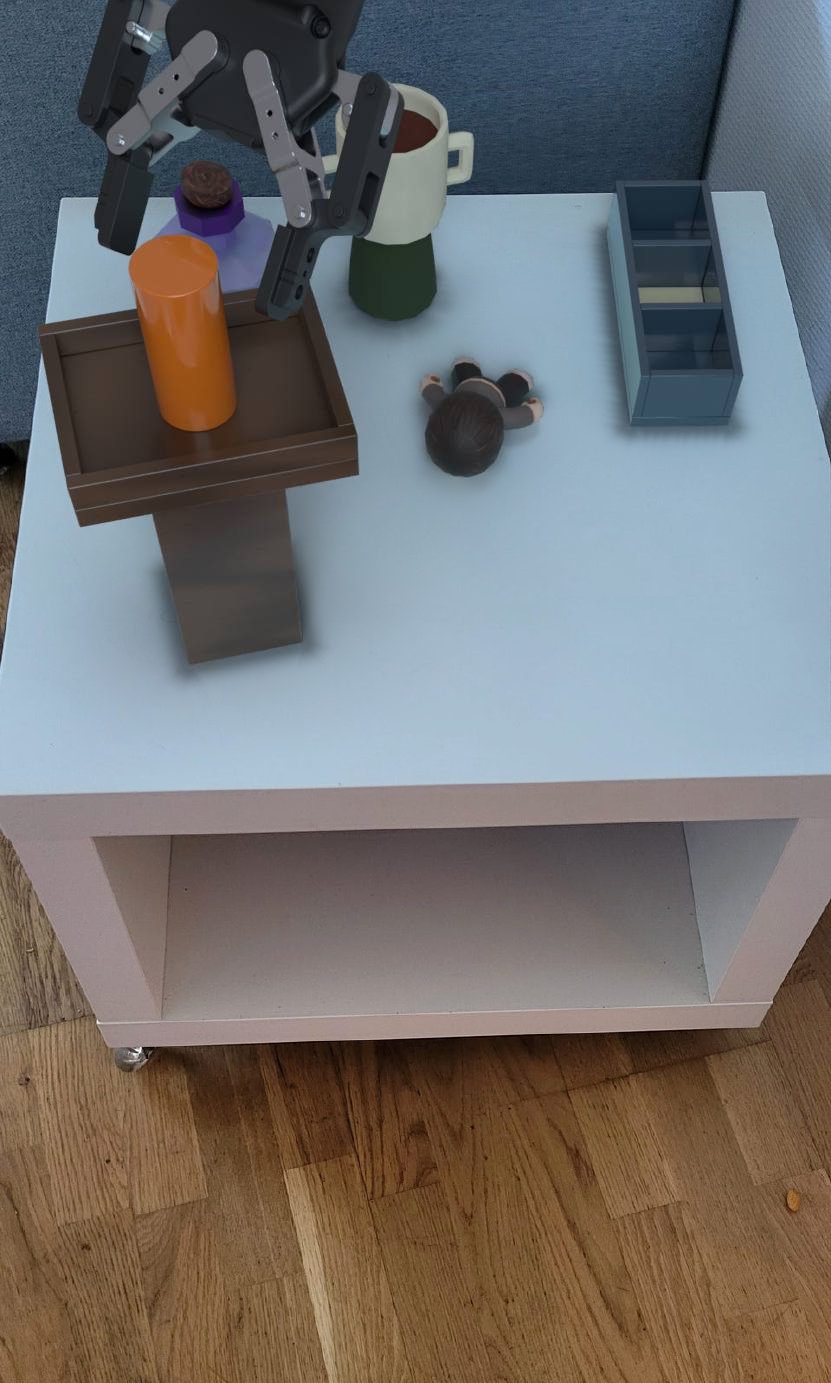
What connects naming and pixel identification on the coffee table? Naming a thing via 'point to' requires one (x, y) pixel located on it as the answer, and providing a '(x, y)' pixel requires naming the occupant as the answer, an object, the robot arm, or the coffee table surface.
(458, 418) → the figurine
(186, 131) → the robot arm
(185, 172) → the potion bottle
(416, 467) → the coffee table surface
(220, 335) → the orange glossy cylinder
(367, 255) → the character mug
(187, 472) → the walnut tray stand
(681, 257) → the three-compartment dish
